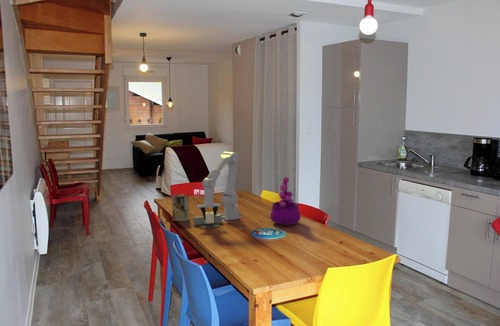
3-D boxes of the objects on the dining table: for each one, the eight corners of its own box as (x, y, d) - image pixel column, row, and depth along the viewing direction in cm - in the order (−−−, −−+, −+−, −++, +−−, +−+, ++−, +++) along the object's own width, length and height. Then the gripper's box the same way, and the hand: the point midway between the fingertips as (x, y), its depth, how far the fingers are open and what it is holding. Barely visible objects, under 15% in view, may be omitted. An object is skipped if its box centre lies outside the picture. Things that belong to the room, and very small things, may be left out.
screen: (221, 222, 265) (221, 214, 264) (222, 223, 264) (221, 215, 263) (193, 224, 260) (193, 217, 259) (193, 225, 259) (193, 217, 258)
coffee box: (189, 219, 272) (189, 195, 270) (185, 221, 266) (184, 197, 264) (176, 217, 275) (176, 194, 273) (172, 220, 269) (171, 196, 267)
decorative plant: (298, 228, 252) (299, 180, 248) (268, 227, 256) (268, 178, 251) (301, 220, 270) (302, 174, 266) (272, 218, 274) (273, 173, 269)
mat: (217, 223, 263) (217, 222, 262) (220, 227, 255) (220, 226, 255) (198, 225, 259) (198, 224, 259) (200, 228, 252) (200, 228, 251)
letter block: (212, 220, 260) (212, 211, 259) (214, 222, 255) (213, 213, 255) (204, 221, 259) (204, 211, 258) (205, 223, 254) (205, 213, 253)
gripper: (198, 199, 249) (198, 221, 251) (222, 198, 253) (222, 219, 255) (196, 197, 255) (196, 218, 257) (219, 195, 259) (219, 216, 261)
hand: (209, 219), depth 256 cm, fingers closed on letter block, 5 cm apart
